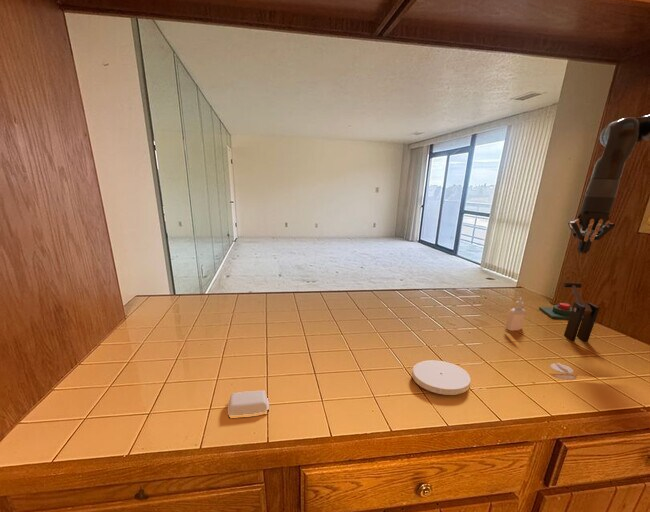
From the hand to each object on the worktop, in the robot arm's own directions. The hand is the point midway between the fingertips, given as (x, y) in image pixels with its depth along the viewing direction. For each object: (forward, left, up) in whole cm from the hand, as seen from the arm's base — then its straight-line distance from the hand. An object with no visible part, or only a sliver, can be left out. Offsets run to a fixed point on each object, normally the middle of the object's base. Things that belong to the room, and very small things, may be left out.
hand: (582, 252), depth 110 cm
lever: (0, +5, -15) cm, 15 cm away
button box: (-7, -12, -27) cm, 30 cm away
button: (-7, -12, -23) cm, 27 cm away
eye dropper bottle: (+17, +4, -27) cm, 32 cm away
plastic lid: (+49, +40, -27) cm, 69 cm away
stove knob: (+15, +31, -27) cm, 44 cm away
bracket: (0, +10, -27) cm, 29 cm away
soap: (+94, +56, -27) cm, 113 cm away
